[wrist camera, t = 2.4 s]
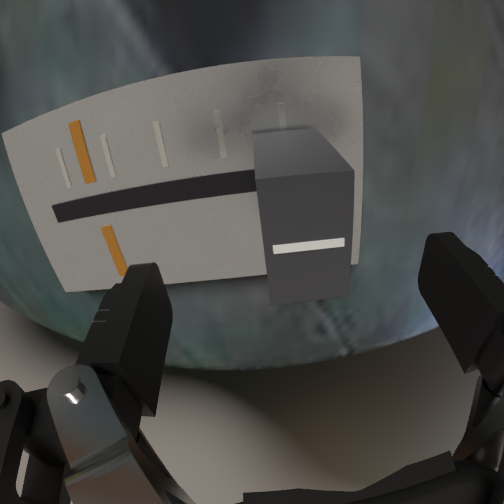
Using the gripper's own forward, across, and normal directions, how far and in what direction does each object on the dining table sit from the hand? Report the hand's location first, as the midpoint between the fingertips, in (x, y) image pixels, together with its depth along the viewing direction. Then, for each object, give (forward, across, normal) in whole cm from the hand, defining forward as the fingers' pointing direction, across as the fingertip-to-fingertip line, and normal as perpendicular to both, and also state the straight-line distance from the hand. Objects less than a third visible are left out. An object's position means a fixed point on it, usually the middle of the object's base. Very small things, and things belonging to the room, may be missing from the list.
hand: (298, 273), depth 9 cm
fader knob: (+8, -1, 0) cm, 8 cm away
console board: (+10, +5, 0) cm, 11 cm away
